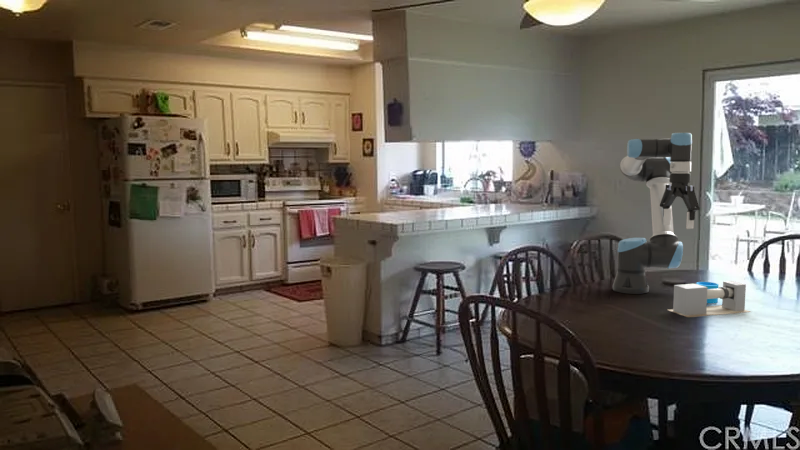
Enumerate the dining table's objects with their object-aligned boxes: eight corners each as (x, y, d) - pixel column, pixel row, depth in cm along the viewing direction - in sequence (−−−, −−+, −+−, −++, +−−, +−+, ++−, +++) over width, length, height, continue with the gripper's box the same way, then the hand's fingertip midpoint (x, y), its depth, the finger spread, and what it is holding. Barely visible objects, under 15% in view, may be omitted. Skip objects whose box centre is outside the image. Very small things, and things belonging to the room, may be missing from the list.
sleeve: (685, 315, 236) (686, 288, 235) (673, 311, 242) (674, 285, 241) (706, 313, 238) (707, 287, 237) (693, 309, 245) (694, 283, 244)
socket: (735, 311, 241) (736, 285, 240) (722, 307, 248) (723, 281, 247) (744, 310, 242) (745, 284, 241) (730, 306, 249) (731, 281, 248)
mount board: (666, 312, 245) (666, 309, 245) (728, 307, 252) (728, 304, 251) (687, 319, 233) (687, 317, 233) (751, 314, 240) (751, 311, 240)
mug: (715, 306, 253) (716, 286, 252) (693, 304, 257) (693, 284, 257) (721, 301, 262) (722, 281, 261) (700, 298, 267) (700, 279, 266)
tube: (700, 301, 238) (701, 290, 238) (692, 299, 242) (693, 287, 242) (740, 298, 243) (740, 287, 242) (731, 296, 247) (732, 285, 246)
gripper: (651, 172, 260) (650, 223, 262) (693, 173, 236) (691, 230, 238) (667, 171, 262) (665, 223, 264) (711, 173, 238) (708, 229, 240)
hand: (678, 226), depth 251 cm, fingers open, 13 cm apart
